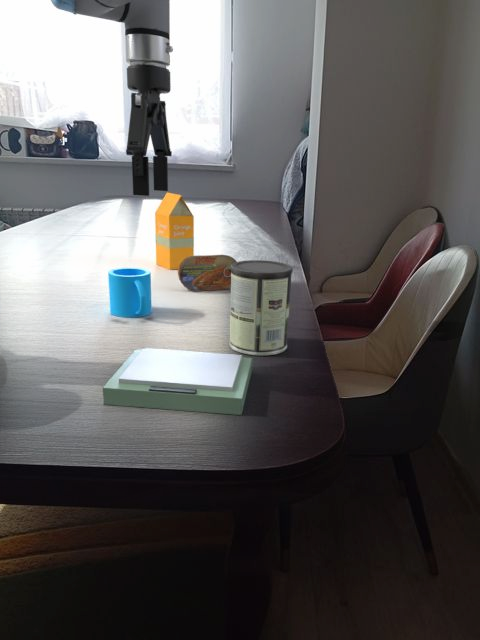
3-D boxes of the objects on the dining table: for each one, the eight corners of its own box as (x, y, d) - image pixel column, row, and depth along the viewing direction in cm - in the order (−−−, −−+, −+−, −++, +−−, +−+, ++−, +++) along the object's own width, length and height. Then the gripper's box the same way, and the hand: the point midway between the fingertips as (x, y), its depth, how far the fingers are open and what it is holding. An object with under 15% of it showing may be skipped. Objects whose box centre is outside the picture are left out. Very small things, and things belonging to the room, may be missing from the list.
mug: (105, 308, 106) (102, 269, 103) (143, 304, 110) (142, 266, 107) (124, 325, 96) (122, 282, 94) (164, 320, 101) (164, 279, 98)
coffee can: (250, 332, 97) (253, 257, 92) (297, 344, 91) (304, 266, 86) (216, 346, 88) (217, 265, 83) (266, 361, 83) (271, 275, 78)
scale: (103, 404, 66) (102, 383, 65) (136, 363, 80) (135, 345, 78) (241, 415, 66) (242, 394, 65) (251, 372, 79) (252, 354, 78)
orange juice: (179, 262, 154) (179, 192, 147) (194, 267, 147) (194, 195, 140) (155, 263, 149) (153, 192, 142) (169, 270, 143) (168, 195, 136)
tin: (179, 292, 121) (179, 256, 118) (176, 288, 124) (176, 254, 121) (239, 289, 127) (241, 255, 124) (235, 286, 129) (236, 252, 126)
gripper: (150, 54, 78) (153, 199, 86) (184, 78, 101) (185, 190, 109) (101, 52, 78) (109, 196, 86) (147, 76, 102) (150, 187, 109)
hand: (151, 193), depth 98 cm, fingers open, 13 cm apart
